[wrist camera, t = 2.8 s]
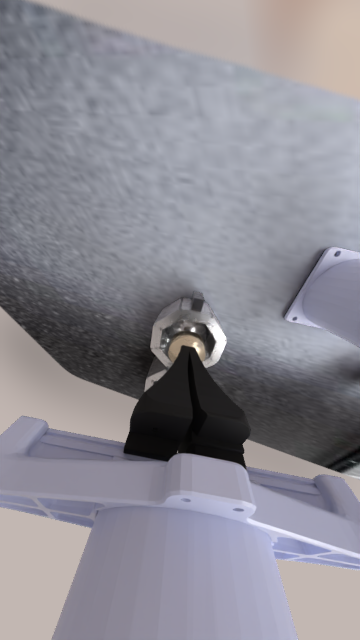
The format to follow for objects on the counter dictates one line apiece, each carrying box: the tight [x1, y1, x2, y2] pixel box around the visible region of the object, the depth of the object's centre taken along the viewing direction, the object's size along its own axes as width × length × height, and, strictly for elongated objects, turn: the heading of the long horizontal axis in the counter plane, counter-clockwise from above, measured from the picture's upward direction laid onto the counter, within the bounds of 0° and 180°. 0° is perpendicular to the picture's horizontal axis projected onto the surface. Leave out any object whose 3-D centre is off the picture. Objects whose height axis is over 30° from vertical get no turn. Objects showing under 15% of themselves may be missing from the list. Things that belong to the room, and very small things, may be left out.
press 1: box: [145, 356, 169, 391], centre depth 20 cm, size 8×9×4 cm
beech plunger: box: [168, 319, 206, 363], centre depth 15 cm, size 5×5×5 cm
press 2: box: [150, 291, 227, 368], centre depth 16 cm, size 8×9×4 cm
